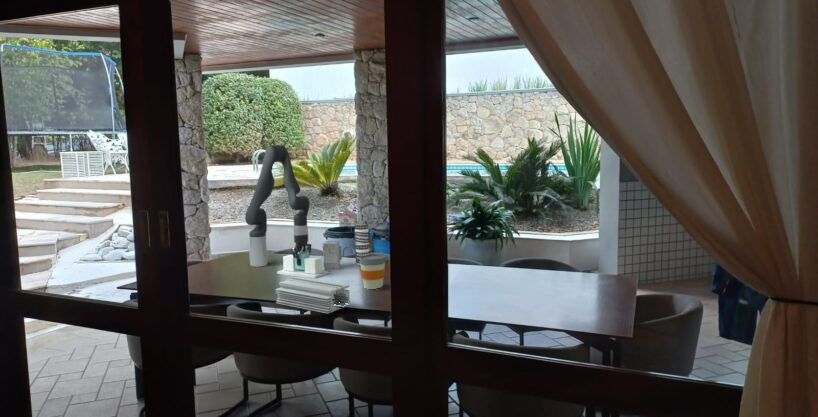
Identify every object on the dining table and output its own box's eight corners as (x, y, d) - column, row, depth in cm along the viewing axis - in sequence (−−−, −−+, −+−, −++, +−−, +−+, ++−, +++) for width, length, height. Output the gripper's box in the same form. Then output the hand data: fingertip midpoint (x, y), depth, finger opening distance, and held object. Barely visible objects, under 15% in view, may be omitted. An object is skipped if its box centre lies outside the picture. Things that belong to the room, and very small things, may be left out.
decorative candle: (351, 264, 324) (350, 221, 321) (361, 261, 332) (359, 219, 329) (364, 266, 319) (363, 222, 316) (374, 262, 327) (372, 220, 324)
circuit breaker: (342, 264, 325) (341, 239, 323) (337, 270, 310) (335, 243, 309) (329, 264, 325) (328, 239, 323) (323, 270, 311) (322, 243, 309)
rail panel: (277, 273, 306) (276, 257, 305) (292, 269, 316) (291, 253, 315) (314, 278, 293) (313, 261, 292) (328, 273, 303) (328, 256, 302)
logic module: (295, 268, 304) (294, 253, 302) (301, 266, 308) (300, 251, 307) (304, 269, 301) (303, 254, 300) (310, 267, 305) (309, 252, 304)
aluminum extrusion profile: (327, 314, 232) (326, 290, 231) (276, 303, 249) (274, 281, 248) (350, 305, 244) (349, 283, 243) (299, 296, 261) (298, 275, 260)
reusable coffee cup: (366, 292, 264) (365, 260, 262) (356, 286, 275) (355, 256, 273) (390, 288, 270) (389, 257, 268) (379, 282, 281) (378, 253, 279)
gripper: (304, 231, 310) (305, 261, 312) (286, 235, 298) (288, 266, 300) (315, 231, 306) (316, 262, 308) (297, 236, 294) (299, 267, 296)
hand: (302, 264), depth 304 cm, fingers closed on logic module, 5 cm apart
